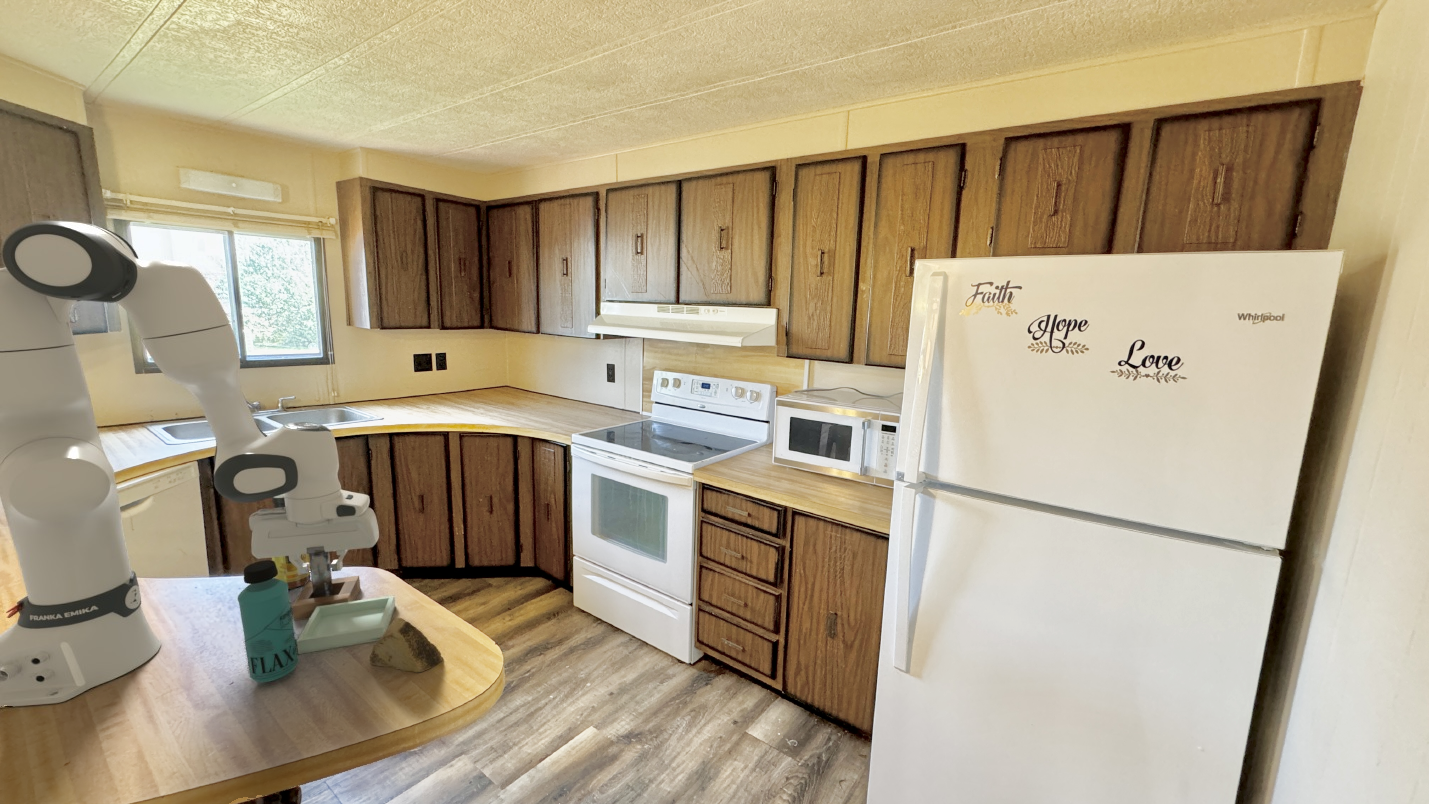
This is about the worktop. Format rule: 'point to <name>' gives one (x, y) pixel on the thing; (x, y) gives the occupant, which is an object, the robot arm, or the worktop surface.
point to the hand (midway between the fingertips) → (320, 571)
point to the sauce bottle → (284, 566)
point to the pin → (320, 572)
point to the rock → (405, 649)
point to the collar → (342, 592)
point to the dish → (346, 624)
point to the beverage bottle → (267, 623)
